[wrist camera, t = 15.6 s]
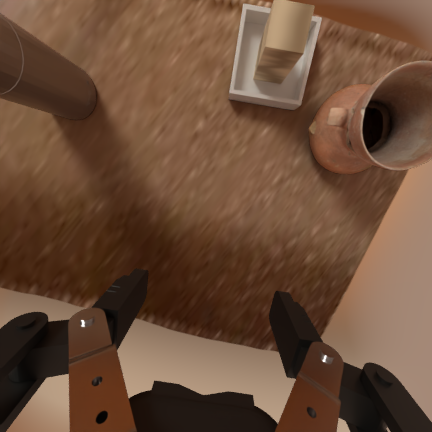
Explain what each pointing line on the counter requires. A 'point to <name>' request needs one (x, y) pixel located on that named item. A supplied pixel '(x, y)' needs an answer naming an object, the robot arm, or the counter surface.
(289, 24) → the block
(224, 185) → the counter surface
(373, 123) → the ceramic jug
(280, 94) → the tray
